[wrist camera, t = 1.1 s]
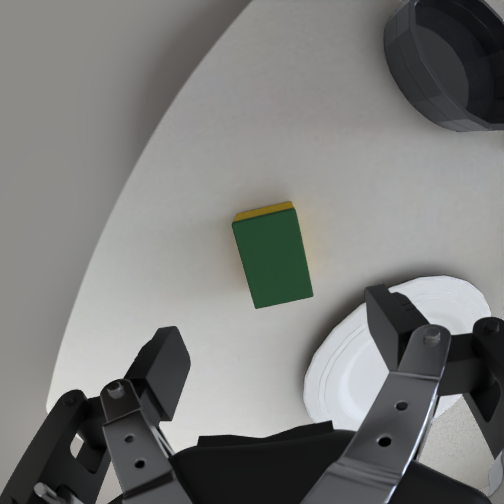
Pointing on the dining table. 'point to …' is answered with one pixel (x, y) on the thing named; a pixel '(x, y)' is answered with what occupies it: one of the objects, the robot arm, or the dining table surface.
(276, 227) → the sponge
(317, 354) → the plate
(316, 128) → the dining table surface
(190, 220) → the dining table surface
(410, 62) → the black bowl
